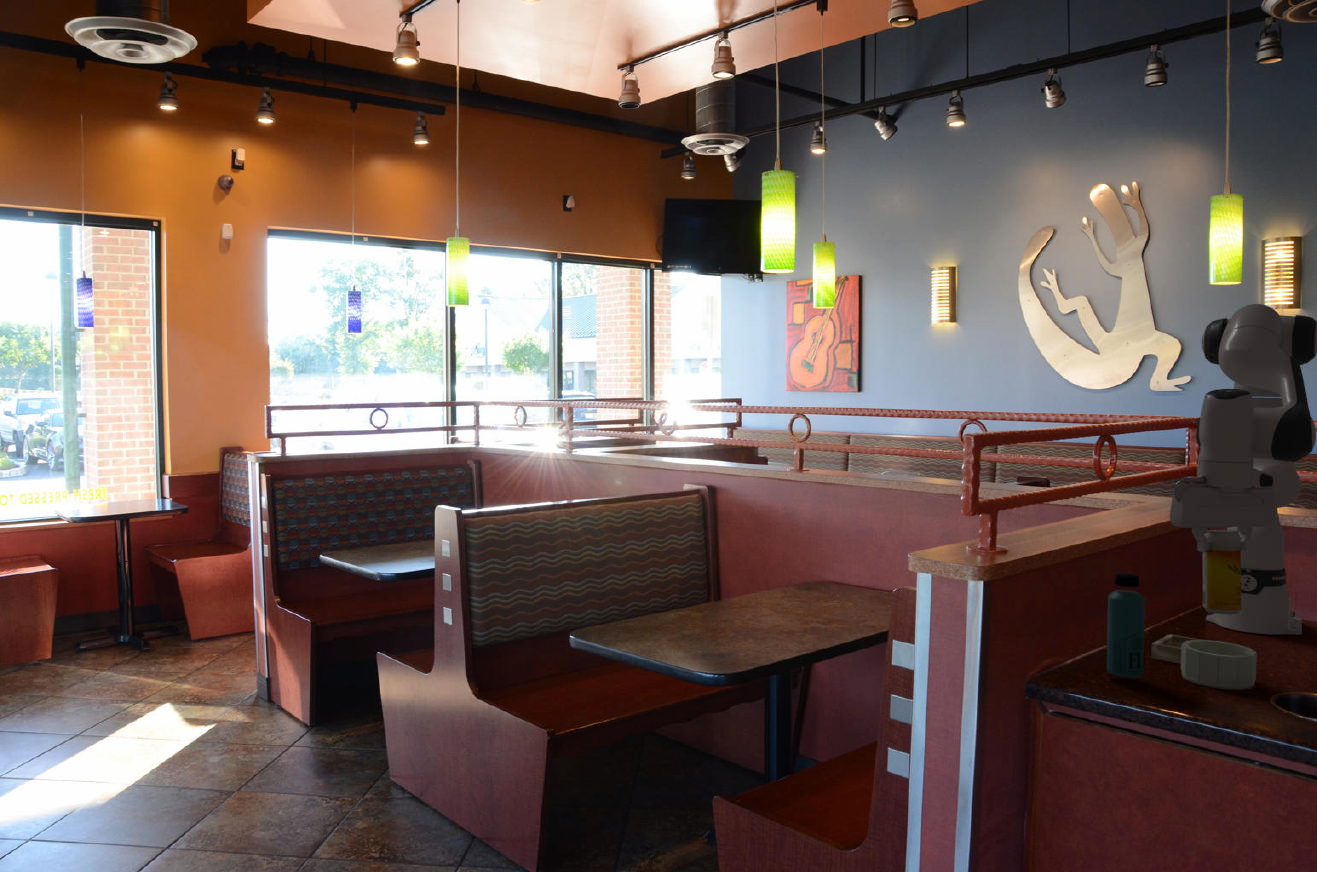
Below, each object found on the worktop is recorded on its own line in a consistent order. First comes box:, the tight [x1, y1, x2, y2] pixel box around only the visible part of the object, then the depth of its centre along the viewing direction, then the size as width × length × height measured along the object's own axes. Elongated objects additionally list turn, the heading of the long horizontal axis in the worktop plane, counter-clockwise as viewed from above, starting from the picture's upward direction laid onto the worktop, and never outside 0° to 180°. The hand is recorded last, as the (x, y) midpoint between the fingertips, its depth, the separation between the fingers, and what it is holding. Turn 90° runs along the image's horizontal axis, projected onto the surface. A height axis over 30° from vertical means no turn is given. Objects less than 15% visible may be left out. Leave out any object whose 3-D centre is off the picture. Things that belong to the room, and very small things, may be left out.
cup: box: [1180, 639, 1258, 691], centre depth 173 cm, size 12×12×6 cm
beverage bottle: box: [1105, 572, 1146, 678], centre depth 172 cm, size 6×7×20 cm
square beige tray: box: [1150, 633, 1202, 665], centre depth 187 cm, size 11×11×4 cm
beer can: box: [1202, 529, 1241, 614], centre depth 172 cm, size 6×6×15 cm
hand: (1221, 551), depth 172 cm, fingers closed on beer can, 6 cm apart
